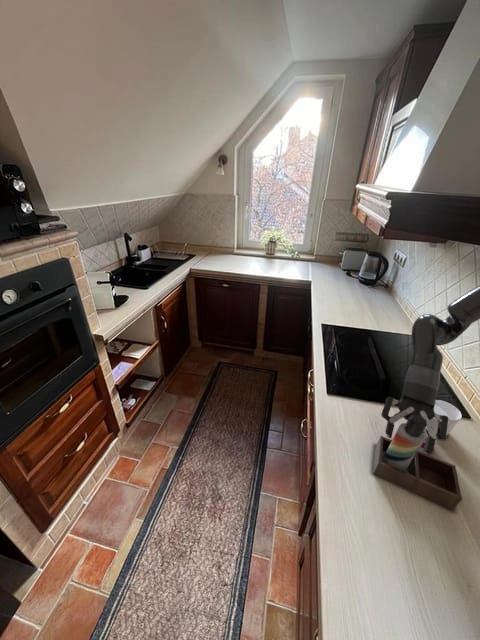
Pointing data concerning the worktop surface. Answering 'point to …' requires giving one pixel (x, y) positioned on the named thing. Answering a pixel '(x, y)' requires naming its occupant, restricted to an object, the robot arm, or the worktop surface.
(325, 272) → the worktop surface
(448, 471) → the caddy
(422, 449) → the supplement can
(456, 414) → the white cup
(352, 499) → the worktop surface
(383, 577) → the worktop surface
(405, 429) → the lotion bottle
